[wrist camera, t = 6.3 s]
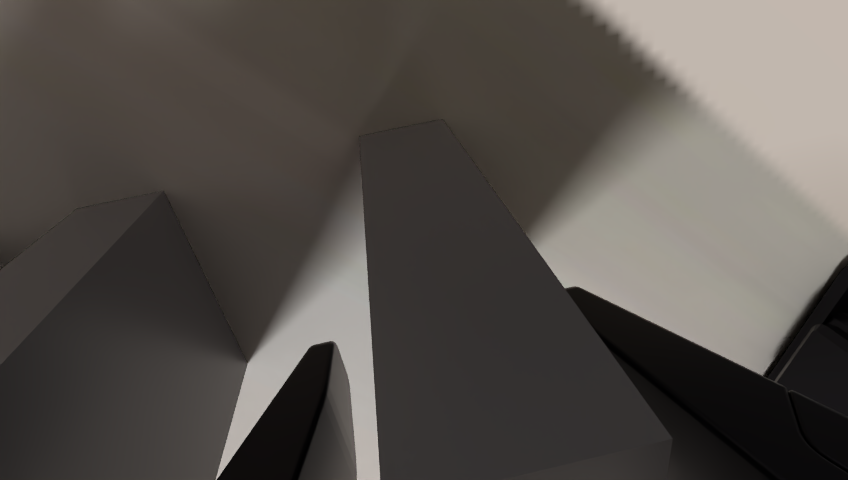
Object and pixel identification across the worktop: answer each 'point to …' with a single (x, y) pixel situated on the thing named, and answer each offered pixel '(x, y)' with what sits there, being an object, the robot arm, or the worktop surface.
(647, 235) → the worktop surface
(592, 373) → the tile
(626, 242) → the worktop surface
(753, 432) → the robot arm
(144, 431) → the tile
